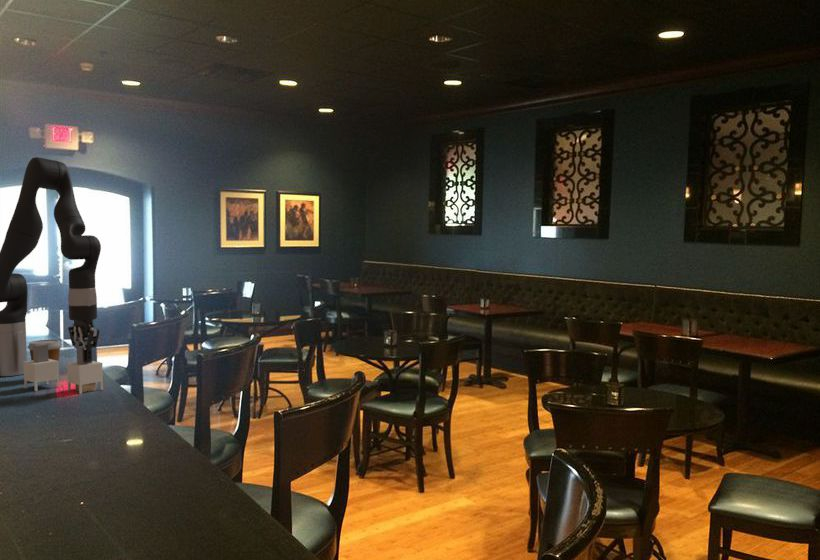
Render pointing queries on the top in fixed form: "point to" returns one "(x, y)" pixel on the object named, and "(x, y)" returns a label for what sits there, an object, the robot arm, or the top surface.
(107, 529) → the top surface
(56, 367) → the cover
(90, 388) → the letter cube
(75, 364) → the cover
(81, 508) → the top surface
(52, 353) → the disposable coffee cup
